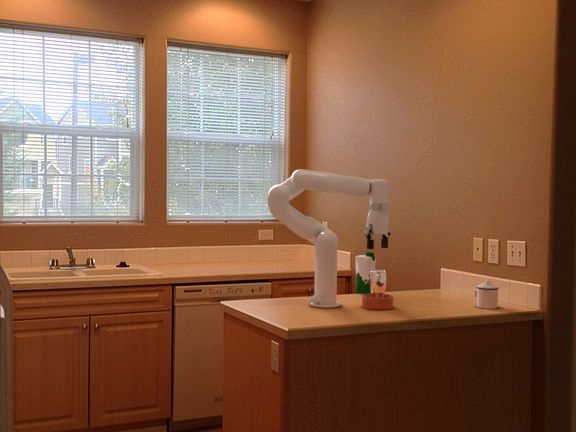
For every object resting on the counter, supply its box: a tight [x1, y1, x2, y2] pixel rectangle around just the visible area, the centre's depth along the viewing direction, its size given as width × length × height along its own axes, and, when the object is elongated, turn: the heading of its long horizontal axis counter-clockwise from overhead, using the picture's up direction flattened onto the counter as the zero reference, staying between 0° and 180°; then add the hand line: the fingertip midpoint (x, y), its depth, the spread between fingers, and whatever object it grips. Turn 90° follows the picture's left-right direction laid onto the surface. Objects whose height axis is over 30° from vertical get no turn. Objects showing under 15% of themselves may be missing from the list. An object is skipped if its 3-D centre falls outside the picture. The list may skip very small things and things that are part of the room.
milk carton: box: [354, 251, 377, 295], centre depth 318 cm, size 9×9×20 cm
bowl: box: [361, 293, 395, 311], centre depth 279 cm, size 13×13×5 cm
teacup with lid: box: [474, 279, 499, 310], centre depth 283 cm, size 12×9×12 cm
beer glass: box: [370, 269, 387, 298], centre depth 279 cm, size 7×7×15 cm
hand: (377, 248), depth 279 cm, fingers open, 9 cm apart
